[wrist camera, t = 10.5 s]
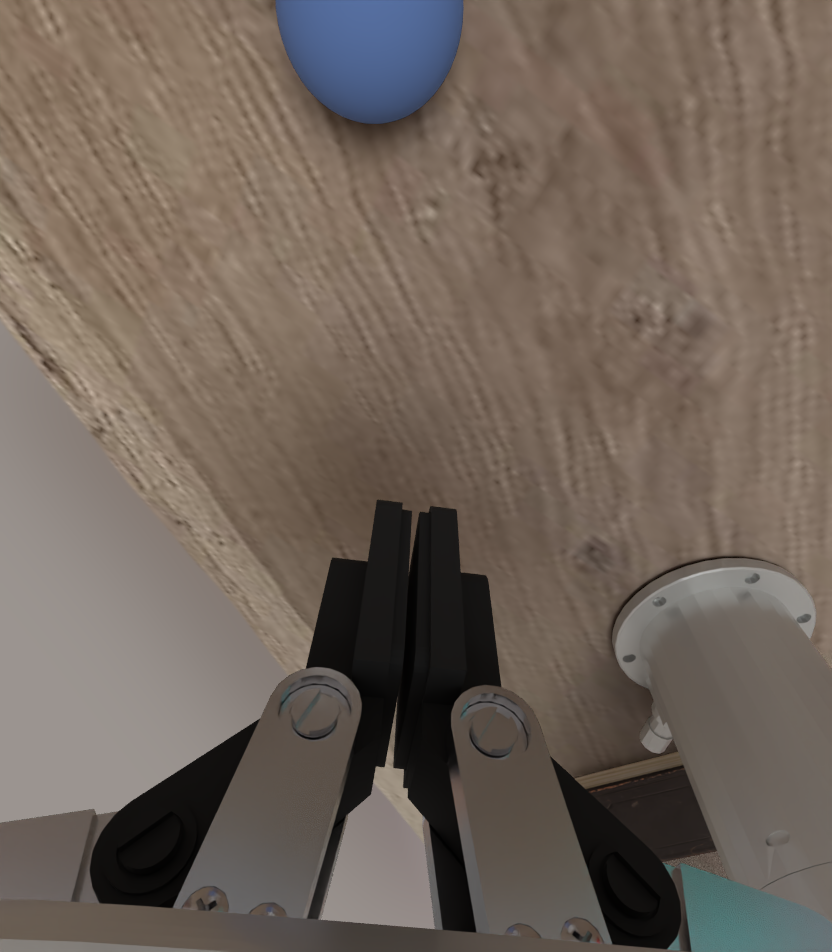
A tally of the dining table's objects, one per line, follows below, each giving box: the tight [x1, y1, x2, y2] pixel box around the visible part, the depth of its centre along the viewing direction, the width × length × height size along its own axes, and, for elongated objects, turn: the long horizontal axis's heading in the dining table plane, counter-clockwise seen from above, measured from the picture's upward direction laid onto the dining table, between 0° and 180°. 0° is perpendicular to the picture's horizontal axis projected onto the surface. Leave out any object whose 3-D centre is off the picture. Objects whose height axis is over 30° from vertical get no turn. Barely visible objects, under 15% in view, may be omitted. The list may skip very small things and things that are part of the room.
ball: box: [276, 0, 463, 124], centre depth 18 cm, size 6×6×6 cm
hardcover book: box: [574, 752, 717, 862], centre depth 48 cm, size 16×23×2 cm
